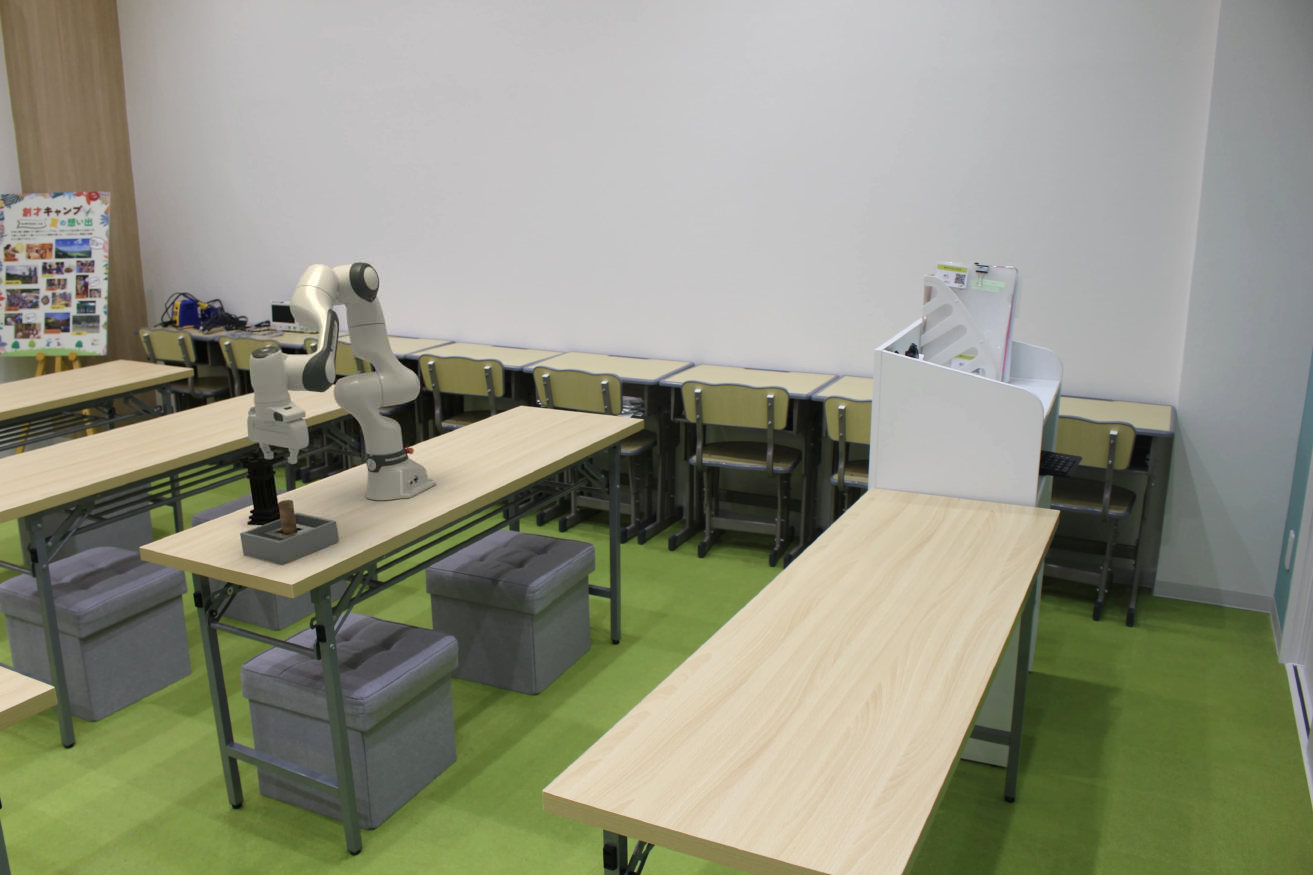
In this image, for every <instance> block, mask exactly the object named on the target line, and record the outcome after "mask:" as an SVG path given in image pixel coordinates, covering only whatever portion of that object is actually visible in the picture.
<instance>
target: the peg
mask: <svg viewBox="0 0 1313 875" xmlns="http://www.w3.org/2000/svg"><path fill="white" fill-rule="evenodd" d="M278 504H279V511H280V518H281V525H282V532H283V534H284V535H289V534H292V533H295V532H297V527H296V520H295V513H296V512H295V507H294V501H293V500H292V499H284V500H281V501H278Z"/></svg>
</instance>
